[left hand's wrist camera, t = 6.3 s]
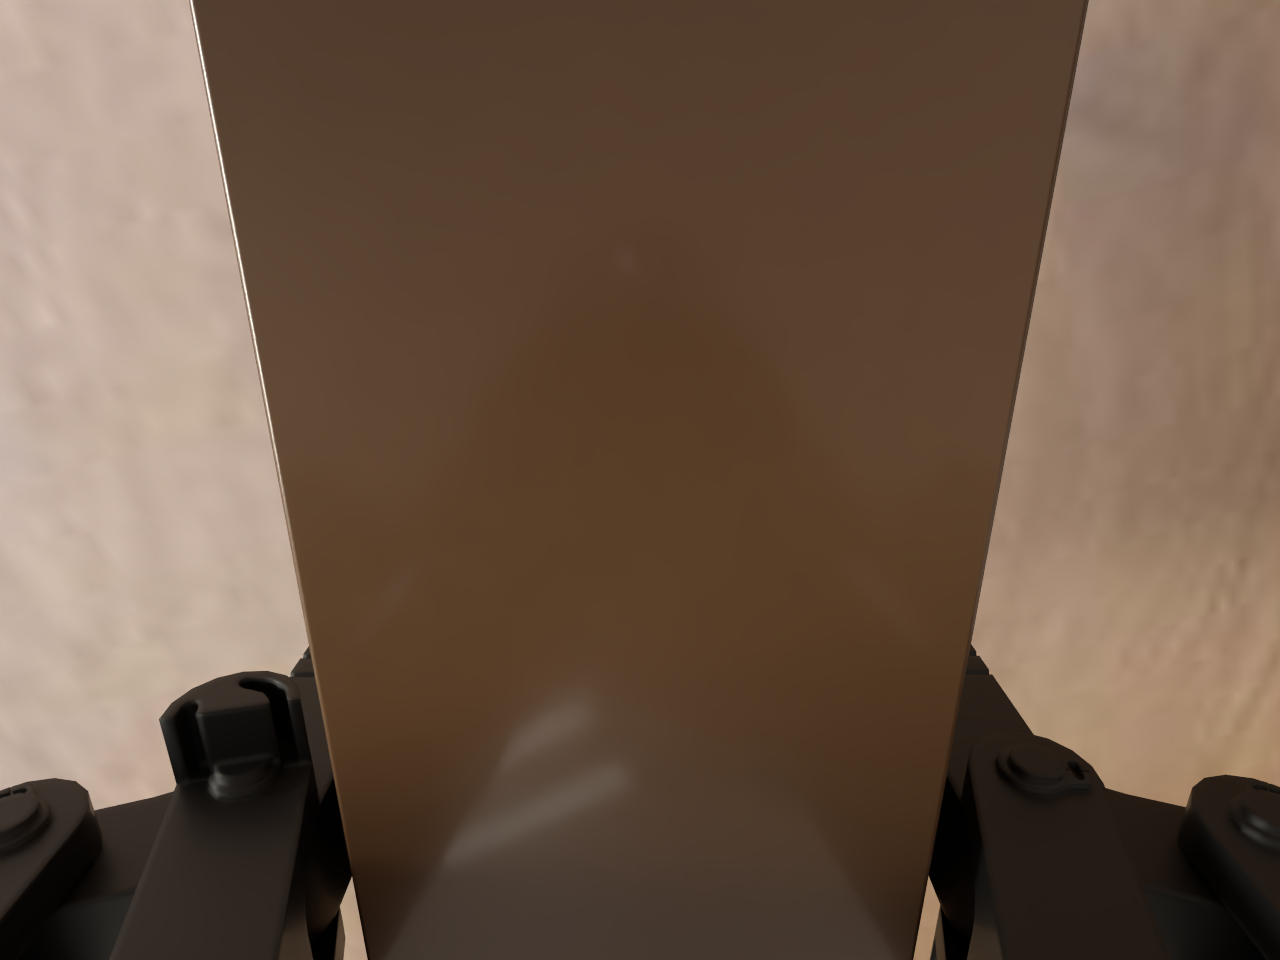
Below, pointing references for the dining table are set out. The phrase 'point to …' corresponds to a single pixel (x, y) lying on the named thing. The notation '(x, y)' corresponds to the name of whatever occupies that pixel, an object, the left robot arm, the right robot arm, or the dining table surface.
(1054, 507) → the dining table surface
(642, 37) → the bar
